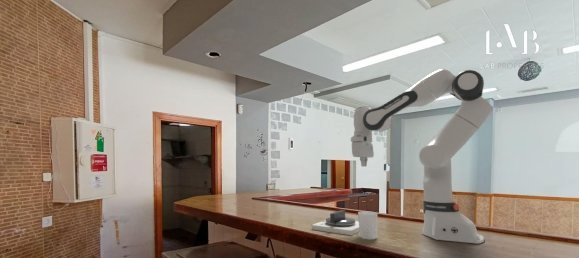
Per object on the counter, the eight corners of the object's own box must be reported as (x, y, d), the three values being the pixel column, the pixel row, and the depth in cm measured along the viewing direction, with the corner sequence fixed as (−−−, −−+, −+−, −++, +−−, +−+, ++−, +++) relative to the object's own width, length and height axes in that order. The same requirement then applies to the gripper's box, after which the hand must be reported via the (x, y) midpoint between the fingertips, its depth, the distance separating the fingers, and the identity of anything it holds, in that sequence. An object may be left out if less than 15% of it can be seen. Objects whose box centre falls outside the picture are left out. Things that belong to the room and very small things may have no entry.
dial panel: (368, 226, 136) (368, 222, 137) (351, 235, 120) (351, 230, 121) (331, 221, 148) (331, 217, 148) (311, 229, 132) (311, 224, 132)
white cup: (379, 236, 119) (378, 212, 120) (377, 240, 112) (376, 215, 113) (360, 234, 122) (359, 210, 123) (357, 238, 115) (356, 213, 116)
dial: (333, 219, 144) (333, 208, 145) (359, 222, 136) (359, 210, 137) (318, 224, 132) (318, 212, 132) (346, 228, 124) (346, 215, 124)
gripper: (364, 140, 152) (365, 166, 151) (349, 137, 136) (350, 166, 134) (376, 140, 149) (377, 166, 147) (361, 137, 132) (362, 166, 131)
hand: (364, 166), depth 140 cm, fingers closed
